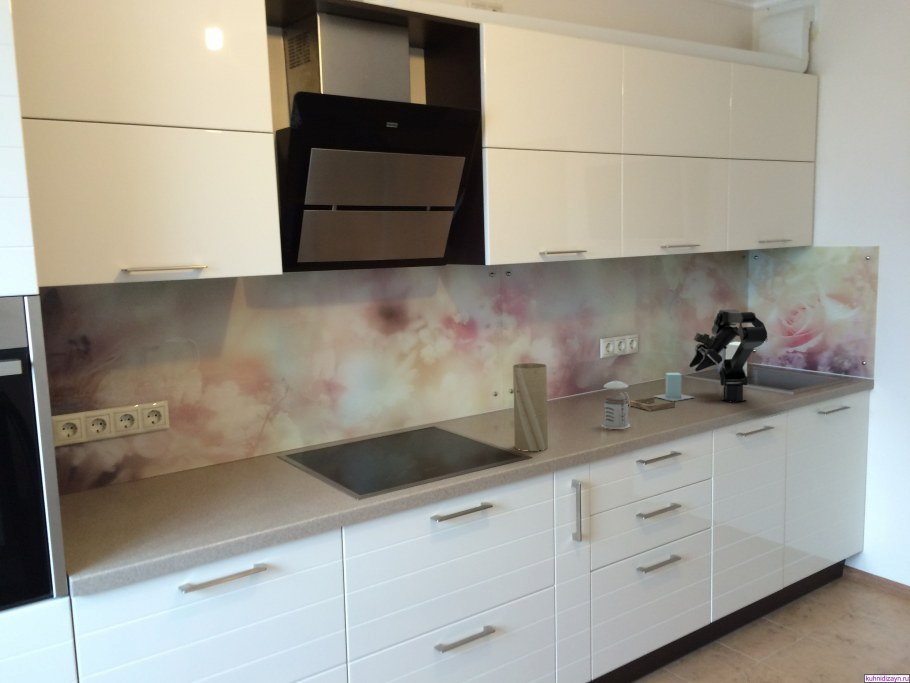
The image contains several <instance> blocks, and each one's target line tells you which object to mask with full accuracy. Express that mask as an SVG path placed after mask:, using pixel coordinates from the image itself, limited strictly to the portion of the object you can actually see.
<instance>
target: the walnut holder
mask: <svg viewBox="0 0 910 683" xmlns="http://www.w3.org/2000/svg"><path fill="white" fill-rule="evenodd" d="M629 400H630V405H631V406H635V407H638V408H637V409H639V408H642V409H641V410H643V409H646V410H645V411H647V410H649V411H648V412H652V411H651V410H655V411H659V410H658V409H661V410H665V409H664V408H667V409H672V408H671V407H674V408H676V402H670V401H667V402H661V403H655V398H654V397H653V396H649V397H643V398H637V399H636V398H635V399H628V400H627V402H628V405H629ZM647 402H654V404H649V403H647ZM643 403H647V404H643ZM631 406H630V407H631ZM635 407H634V408H635Z"/></svg>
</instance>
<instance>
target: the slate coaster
mask: <svg viewBox="0 0 910 683" xmlns="http://www.w3.org/2000/svg"><path fill="white" fill-rule="evenodd" d="M652 397H658V398H662V399H665V400H664V401H666V400H670V401H676V402H679V401H678V400H683V401H685V400H684V399H689V400H691V399H690V398H694V399H695V396H691V395H685V394H683V393H681V398H668V397H667V396H666V393H664V394H658V395H653V396H652ZM662 399H661V400H662ZM670 401H669V402H670Z"/></svg>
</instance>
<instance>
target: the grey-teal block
mask: <svg viewBox="0 0 910 683" xmlns="http://www.w3.org/2000/svg"><path fill="white" fill-rule="evenodd" d="M665 394H666V396H667V397H668V398H681V394H682V373H680V372H665Z"/></svg>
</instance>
